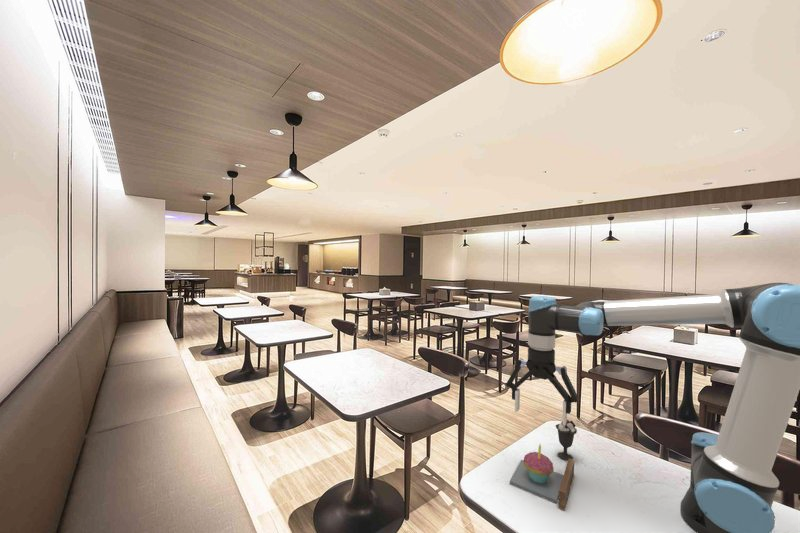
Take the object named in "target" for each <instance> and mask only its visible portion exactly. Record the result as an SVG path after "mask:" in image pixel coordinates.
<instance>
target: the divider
mask: <svg viewBox="0 0 800 533" xmlns="http://www.w3.org/2000/svg"><path fill="white" fill-rule="evenodd" d="M566 462H567V463H566V465H565V469H564V473H563V474H562V475H563V479H562V482H561V485H560V488H559V497H558V500H557V503H558V504H557V505H558V506H557V509H559V510H561V511H563V512H565V511H566V508H567V503H568V500H569V496H570V492H571V488H572V485H573V484H572V483H573V480H574V476H575V459H574V458H573V459H570V458H569V459H568V461H566Z"/></svg>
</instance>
